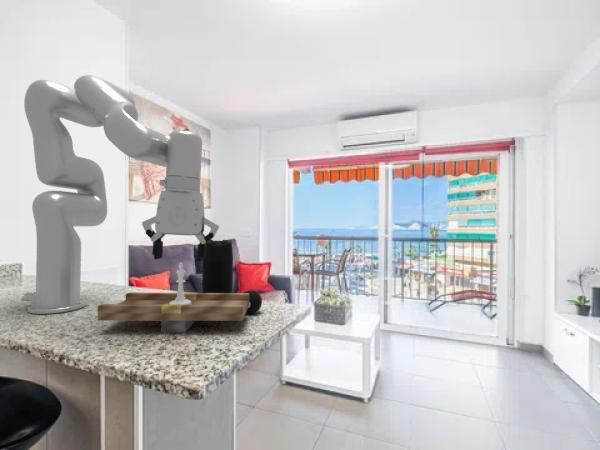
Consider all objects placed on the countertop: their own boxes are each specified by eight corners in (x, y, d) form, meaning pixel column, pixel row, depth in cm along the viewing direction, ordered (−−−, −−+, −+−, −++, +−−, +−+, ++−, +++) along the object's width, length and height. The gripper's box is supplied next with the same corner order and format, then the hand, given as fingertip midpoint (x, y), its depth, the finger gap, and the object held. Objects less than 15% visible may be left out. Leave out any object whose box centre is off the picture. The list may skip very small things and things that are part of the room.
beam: (97, 334, 64) (97, 306, 64) (128, 316, 77) (128, 292, 77) (242, 334, 66) (242, 306, 66) (248, 316, 79) (249, 293, 79)
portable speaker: (231, 302, 93) (232, 239, 93) (232, 310, 85) (234, 241, 85) (202, 303, 91) (203, 239, 91) (200, 312, 82) (202, 240, 82)
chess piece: (195, 303, 74) (195, 261, 74) (185, 308, 69) (186, 263, 69) (175, 302, 74) (176, 260, 74) (164, 307, 69) (165, 263, 69)
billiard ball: (264, 310, 85) (264, 289, 85) (257, 317, 79) (257, 293, 79) (243, 309, 86) (244, 287, 86) (235, 315, 80) (235, 292, 80)
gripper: (137, 182, 67) (133, 260, 68) (217, 186, 68) (213, 263, 69) (151, 185, 75) (148, 256, 75) (223, 190, 76) (220, 259, 76)
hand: (179, 259), depth 72 cm, fingers open, 9 cm apart
